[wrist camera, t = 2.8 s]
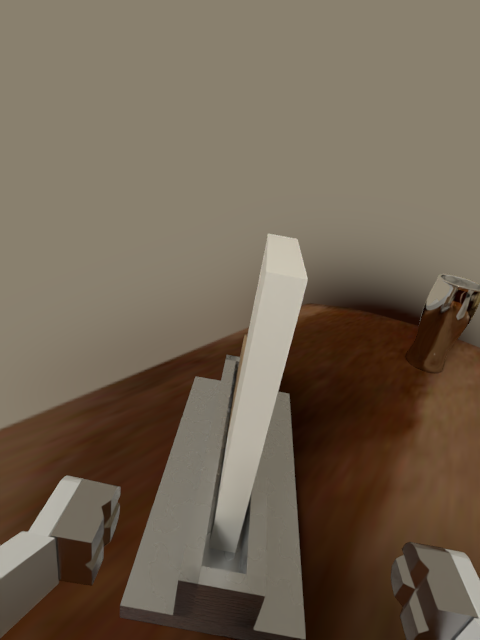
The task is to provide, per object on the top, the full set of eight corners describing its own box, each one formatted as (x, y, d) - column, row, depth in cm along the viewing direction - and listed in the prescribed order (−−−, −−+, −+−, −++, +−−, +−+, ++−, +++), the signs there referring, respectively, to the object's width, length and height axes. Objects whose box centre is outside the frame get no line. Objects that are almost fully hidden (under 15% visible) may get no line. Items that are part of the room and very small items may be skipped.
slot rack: (286, 402, 46) (296, 367, 43) (300, 650, 23) (322, 606, 21) (194, 385, 46) (199, 349, 43) (120, 617, 23) (121, 569, 21)
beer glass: (394, 355, 62) (428, 274, 55) (417, 348, 66) (452, 272, 59) (429, 378, 57) (472, 292, 50) (453, 370, 61) (495, 289, 54)
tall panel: (242, 466, 34) (297, 239, 24) (235, 552, 27) (307, 279, 17) (222, 462, 34) (268, 233, 24) (208, 548, 27) (266, 271, 17)
